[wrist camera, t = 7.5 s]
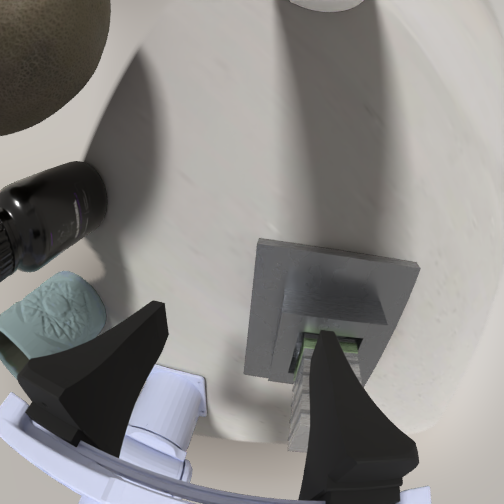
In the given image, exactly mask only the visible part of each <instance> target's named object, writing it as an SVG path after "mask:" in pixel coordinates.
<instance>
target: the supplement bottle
mask: <svg viewBox="0 0 504 504" xmlns="http://www.w3.org/2000/svg"><path fill="white" fill-rule="evenodd" d="M106 210H107V194H106V189H105V186H104V183H103V181H102V179H101V177H100V176H99V174H98V173H97V172H96V170H95V169H94V168H92V167H91V166H90V165H88V164H86V163H84V162H79V161H74V162H69V163H66V164H63V165H60V166H57V167H54V168H51V169H48V170H45V171H43V172H40V173H37V174H34V175H32V176H29V177H26V178H24V179H21V180H19V181H16V182H14V183H11V184H9V185H7V186H5V187H4V188H3V189H2V190H1V191H0V282H1V281H3V280H4V279H5V278H6V277H8V276H10V275H12V274H13V273H14V272H15V271H16V270H17V269H18V270H20V271H24V272H34V271H37V270H39V269H40V268H42V267H43V266H45V265H46V264H47V263H49V262H50V261H51V260H52V259H54V258H55V257H57V256H58V255H59V254H60V253H62V252H63V251H65V250H66V249H68V248H69V247H70V246H72V245H73V244H75V243H76V242H78V241H79V240H80V239H82V238H83V237H85V236H86V235H88V234H89V233H90V232H92V231H93V230H95V229H96V228H97V227H98V226H99V225H100V224H101V222H102V221H103V219H104V217H105V214H106Z"/></svg>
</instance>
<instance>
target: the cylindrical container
mask: <svg viewBox="0 0 504 504" xmlns="http://www.w3.org/2000/svg"><path fill="white" fill-rule="evenodd" d="M289 1H290V2H292V3H294V4H296V5H298V6H300V7H303V8H306V9H309V10H314V11H320V12H339V11H344V10H348V9H351V8H353V7H355V6H357V5H359V4H360V3H361V2H363V1H364V0H289Z"/></svg>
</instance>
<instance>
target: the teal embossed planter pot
mask: <svg viewBox="0 0 504 504" xmlns="http://www.w3.org/2000/svg"><path fill="white" fill-rule="evenodd" d="M105 321H106V312H105V308H104V305H103V303H102V301H101V299H100V297H99V296H98V294H97V293H96V291H95V290H94V289H93V288H92V287H91V286H90V284H89V283H88V282H86V281H85V280H84V279H83V278H81V277H80V276H79V275H77V274H75V273H72V272H69V271H62V272H59V273H57V274H55V275H54V276H52V277H51V278H49V279H48V280H47V281H45V282H44V283H42V284H41V285H40V287H38V288H37V289H35V290H34V291H33V292H31V293H30V294H28V295H27V296H26V297H25V298H24V299H23V300H22V301H20V302H16V303H15V304H14V305H13V306H11V307H10V308H9V309H8V310H6V311H4V312H3V313H2V314H0V360H1V361H2V363H3V364H4V365H5V366H6V368H7V369H8V370H9V371H10V373H11V374H12V375H13V376H14V377H15V378H16V379H17V375H18V373H19V372H20V371H21V370H22V368H23V367H24V366H25V365H26V363H27V362H28V361H29V360H30V359H31V358H37V357H42V356H47V355H51V354H55V353H58V352H62V351H65V350H68V349H71V348H73V347H76V346H78V345H81V344H83V343H86V342H88V341H90V340H92V339H94V338H96V336H97V335H98V334H99V333H100V331H101V330H102V328H103V327H104V324H105Z"/></svg>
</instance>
